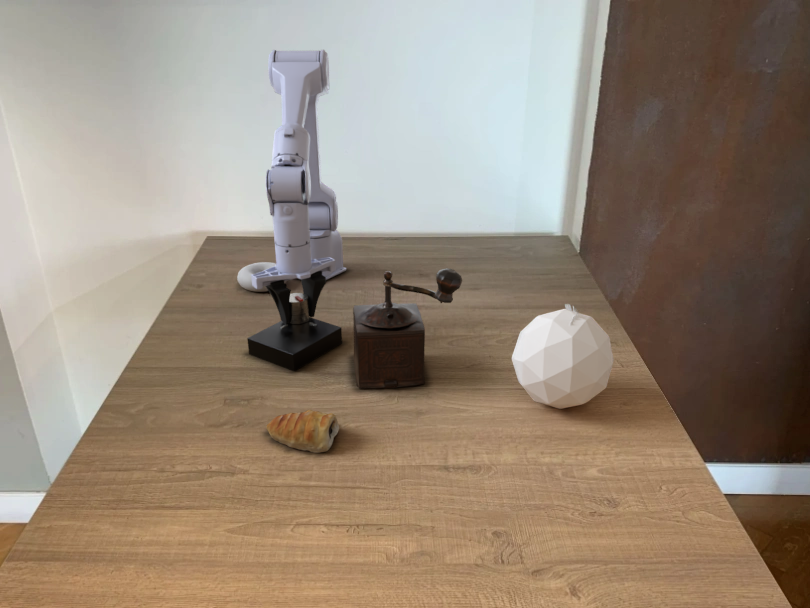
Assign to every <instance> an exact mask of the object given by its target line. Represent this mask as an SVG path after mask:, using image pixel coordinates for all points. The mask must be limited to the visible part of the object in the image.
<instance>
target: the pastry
mask: <svg viewBox="0 0 810 608" xmlns="http://www.w3.org/2000/svg"><path fill="white" fill-rule="evenodd" d="M266 430H267V432H268V434H269V436H270V437H271V438H272V439H273V440H274V441H275V442H279V443H280V444H283V445H285V446H287V447H288V448H292V449H295V450H299V451H300V450H301V451H309V452H310V453H315V454H316V453H317V454H319V453H325V452H328V451H329V450H330V448H331V447H332V445H333V443H334V438H335V437H336V436H337V435H338V434H339V431H340V425H339V421H338V418H337V416H336V415H335V414H334V413H333V412H330V413H326V412H322V411H315V410H312V409H307V410H305V411H303V412H302V411H301V412H289V413H285V414H281V415H278V416H275V417H274V418H273V419H272V420H271V421H270V422H269V423H267V425H266Z"/></svg>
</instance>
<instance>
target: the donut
mask: <svg viewBox="0 0 810 608" xmlns="http://www.w3.org/2000/svg"><path fill="white" fill-rule="evenodd" d="M274 266H276V262H270V261H269V262H268V261H260V262H254V263H250V264H247V265H246V266H243V267H242V268H241V269H240V270H239V271H238V273H237V277H236V279H237V282H238V285H240V287H241V288H243V289H245V290H247V291H250V292H257V293H264V292H265V293H266V292H269V291H268V289H267V288H266V286H263V288H262V289H256V288H254V287H253V286H252V279H251V275H252V274H256V273H259V272H262V271H264V270H266V269H269V268H271V267H274ZM287 282H288V281H284V283H285V284H287Z"/></svg>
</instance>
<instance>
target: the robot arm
mask: <svg viewBox="0 0 810 608" xmlns="http://www.w3.org/2000/svg"><path fill="white" fill-rule="evenodd" d="M267 61H268V63H267V68H268V70H267V71H268V79H269V84H270V86H271V87H272V88H273V91H274V93H275V94H278V95H280V96H281V125H280V126H278V127H277V128H276V129H275V130H274V133H273V144H272V156H271V166H270V167H271V169H267V170H266V174H265V192H266V197H267V202H268V207H269V215H270V216H271V217H272V228H273V239H274V250H275V251H274V253H275V263H276V266H274V267H271V268H269V269H266V270H264V271H262V272H259V273H256V274H252V275H251V279H252V286H253V287H254V288H256V289H262V288H263V286H266V288H267V289H268V291H267V292H268V293H269V294H270V297H272V300H273V301H274V304H275V306H276V309H277V311H278V314H279V317H280V321H283V322H284V323H285V324H289V323H290V310H289V300H290V294H291V291H292V290H291V289H290V288H288V287H287V283H284V281H287V282H288V281H291V280H297V279H298V280H300V282H301V286H302V292H303V294H306V295H307V296H308V302H309V317H311V318H314V317H315V315H316V309H317V306H318V301H319V298H320V295H321V294H322V290H323V289H324V287H325V285H326V284H327V280H330V279H331V278H333V277H335V276H337V275H340V274H343V273H344V272H346V271H347V267H345V266H344V248H343V237H342V236H341V233H340V232H339V231H338V227H339V207H338V201H337V193H336V192H335V190H334V189H333V188H331V187H330V186H328V185H327V184H325V183H324V182H323V181H322V169H321V153H320V151H321V150H320V132H319V131H320V130H319V113H318V103H319V100H320V97H322V96H325V95H328V94H329V90H330V62H329V61H330V60H329V54H328V53H327V52H326V50H325V49H320V50H277V49H272V50H271V52H270V53H269V54H268V60H267Z"/></svg>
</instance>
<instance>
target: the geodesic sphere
mask: <svg viewBox="0 0 810 608" xmlns="http://www.w3.org/2000/svg"><path fill="white" fill-rule="evenodd" d="M511 361H512V362H511V363H512V365H513V368H514V371H515V372H514V373H515V374H516V378H517V382H518V383H519V384H520V385H521V387H522V388H523V389H524V390H525V392H526V393H527V394H528V396H529V397H530V398H531V399H532V401H533V402H536V403H539V404H542V405H545V406H548V407H552V408H556V409H558V410H561V409H567V408H572V407H576V406H581V405H584V404H586V403H588V402H589V401H591V400H592V399H593V398H595V397H596V396H598V395H599V394H600V393H601V392H603V391H604V390H605V389H607V386H608V384H609V380H610V376H611V372H612V369H613V365H614V361H615V359H614V354H613V349H612V344H611V337H610V335H609V334H608V333H607V332H606V331H605V330H604V329H603V328H602V326H601V325H600V324H599V323H598V322H597V320H595V319H594V317H593V316H591V315H587V314H584V313H580V310H577V309H575V305H572V306H571V304H570V303H564V308H562V309H558V310H554V311H550V312H547V313H543V314H539V315H536V316H535V317H534V318H533V319H532V320H531V321H530V322H529V323H528V324H527V325H526V326H525V327H524V328H523V329H521V330H520V332H519V334H518V337H517V340H516V344H515V346H514V350H513V352H512V355H511Z"/></svg>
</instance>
